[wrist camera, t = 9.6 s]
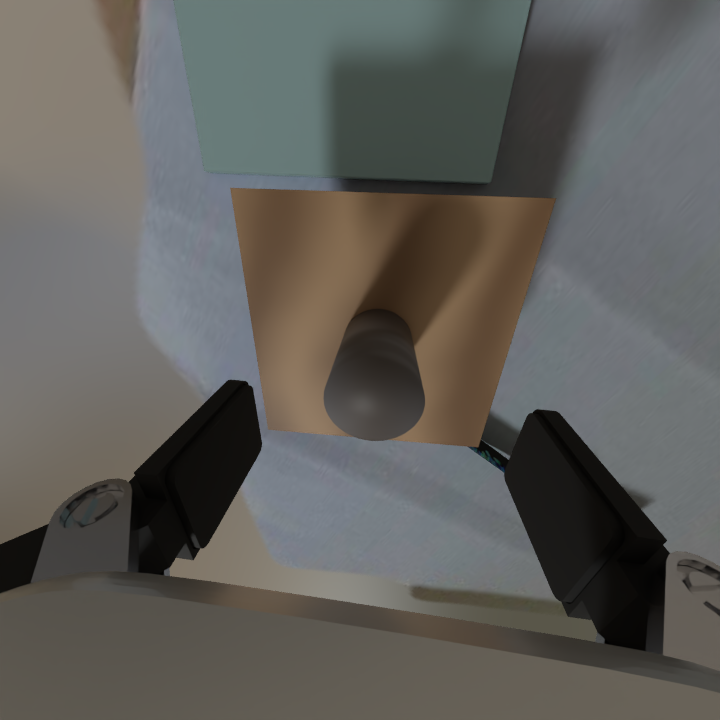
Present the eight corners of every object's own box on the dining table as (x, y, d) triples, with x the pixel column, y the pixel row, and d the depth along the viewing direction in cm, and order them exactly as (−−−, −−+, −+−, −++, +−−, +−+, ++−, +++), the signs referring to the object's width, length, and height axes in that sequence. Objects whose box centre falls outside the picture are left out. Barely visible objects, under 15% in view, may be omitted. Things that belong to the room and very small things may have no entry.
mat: (579, -249, 12) (594, -286, 11) (486, 184, 19) (490, 182, 19) (142, -231, 13) (125, -263, 12) (212, 173, 20) (204, 170, 20)
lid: (546, 199, 13) (685, 183, 7) (474, 439, 20) (513, 535, 14) (238, 189, 14) (124, 167, 8) (272, 422, 21) (226, 505, 15)
